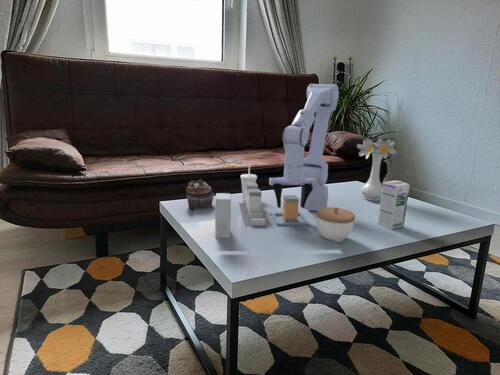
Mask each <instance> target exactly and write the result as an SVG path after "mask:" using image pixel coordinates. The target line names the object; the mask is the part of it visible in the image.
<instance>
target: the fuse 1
mask: <svg viewBox="0 0 500 375" xmlns="http://www.w3.org/2000/svg"><path fill="white" fill-rule="evenodd" d="M248 189H259V184H257V182H256V183H246V185H245V206H246V203H247V200H248Z"/></svg>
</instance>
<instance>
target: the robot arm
mask: <svg viewBox="0 0 500 375" xmlns="http://www.w3.org/2000/svg"><path fill="white" fill-rule="evenodd" d="M306 99H307V100H306V102H305V105H304V108H303V109H300V110H299V111H298V112H297V114H296V115H295V117H294V119H293V121H292V123H291V125H288V126H286V127H285V128H284V130H283V133H282V141H283V149H284V151H285V152H284V162H283V163H284V164H283V165H284V167H283V168H284V169H283V176H281V177H280V176H279V177H278V176H277V177H269V180H268V184H269V186H271V187H272V189H273V191H274V194H275V199H276V207H277V208H279V209H280V208H281V205H282V193H283V188H282V186H287V185H288V186H301V188H300V198H299V206H300V207H301V208H303V209H307V210H308V211H316V212H317V210H318V209H320V208H325V207H327V206H328V197H329V188H328V186H327V184H326V183H327V181H328V175H329V174H328V173H329V172H328V171H329V164H328V163H327V161H325V160H324V159H323V154H324V148H325V143H326V138H327V132H328V126H329V122H330V117H331V113H332V112H335V111H336V109H337V105H338V100H339V86H338V85H337V84H336V83H334V84H333V83H332V84H329V83H327V84H326V83H323V84H322V83H321V84H320V83H310V84H309V85H308V86H307V88H306ZM312 125H313V130H312V136H311V140H310V144H309V145H310V146H309V152H308V156H307V157H305V156H304V155H305V146H306V145H307V144H308V140H309V136H310V129H311V128H312Z"/></svg>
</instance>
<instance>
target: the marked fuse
mask: <svg viewBox="0 0 500 375" xmlns="http://www.w3.org/2000/svg"><path fill="white" fill-rule="evenodd" d="M282 204H283V205H282V213H283V215H281V216H282V217H281V218H282V220H283V223H298V217H299V215H298V213H299V205H300V198H299V197H298V196H297V195H296V194H294V195H293V194H292V195H291V194H284V195H283V203H282Z"/></svg>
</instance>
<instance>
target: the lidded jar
mask: <svg viewBox="0 0 500 375" xmlns="http://www.w3.org/2000/svg"><path fill="white" fill-rule="evenodd" d="M315 216H316V217H315V218H316V220H315V222H316V223H315V224H316V229H317V232H318V233H319V234H320V236H321V237H322V238H324V239H327V240H330V241H334V242H335V243H341V242H344V241H345V239H347V238H348V237H349V236H350V235H351V233H352V231H353V228H354V223H355V218H356V215H355V212H354V213H353V212H352V211H351V210H347V209H344V208H340V207H337V206H334V207H332V206H329V207H325V208H320V209H318V210H317V211H316V215H315Z"/></svg>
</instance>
